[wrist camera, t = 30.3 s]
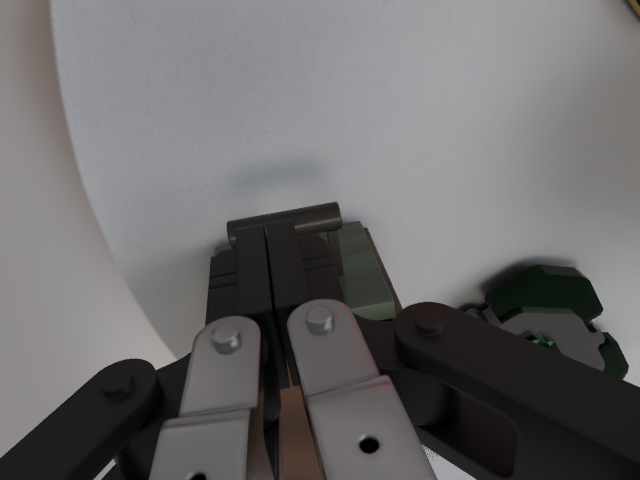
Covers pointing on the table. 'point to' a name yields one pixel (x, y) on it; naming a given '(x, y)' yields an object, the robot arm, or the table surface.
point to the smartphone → (635, 5)
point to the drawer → (336, 255)
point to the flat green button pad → (555, 315)
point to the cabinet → (297, 440)
